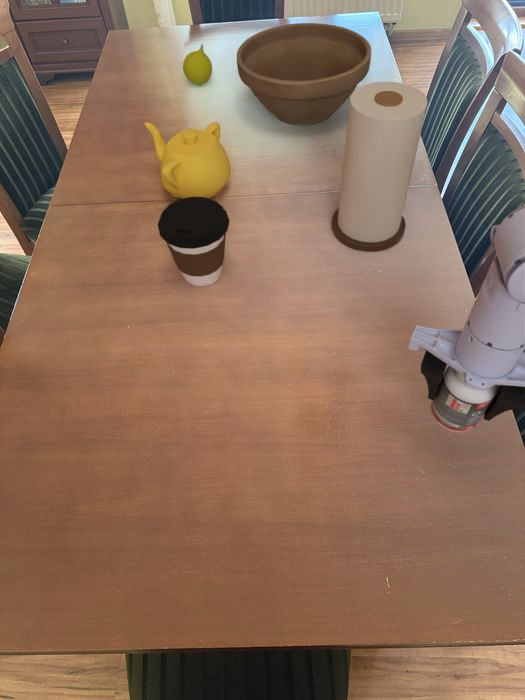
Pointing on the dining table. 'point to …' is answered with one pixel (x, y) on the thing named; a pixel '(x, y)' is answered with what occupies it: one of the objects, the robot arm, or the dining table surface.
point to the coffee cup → (196, 237)
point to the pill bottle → (460, 402)
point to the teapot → (192, 162)
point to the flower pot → (303, 69)
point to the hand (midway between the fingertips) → (459, 402)
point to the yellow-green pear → (197, 67)
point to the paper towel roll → (378, 164)
